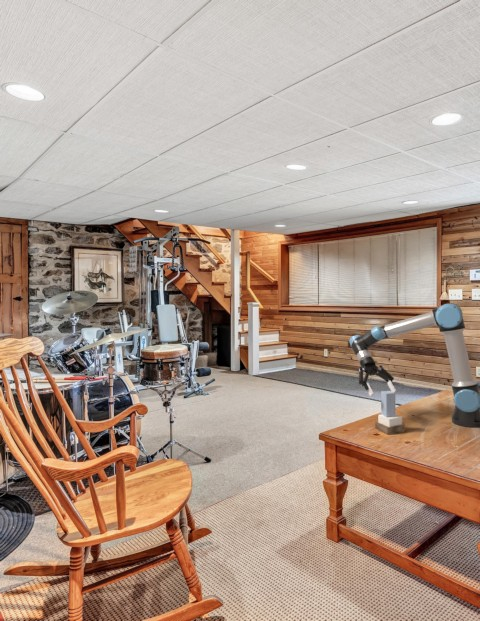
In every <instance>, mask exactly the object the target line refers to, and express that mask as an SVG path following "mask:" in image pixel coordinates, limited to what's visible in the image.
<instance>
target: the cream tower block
mask: <svg viewBox="0 0 480 621" xmlns="http://www.w3.org/2000/svg"><path fill="white" fill-rule="evenodd" d="M377 418H378V420H377V421H378V423H381V424H383V425H385V426H388V427H393V426H398V425H402V424H403V416H400V415H398V414H396V417H385V416H383V415H381V414H378V416H377Z"/></svg>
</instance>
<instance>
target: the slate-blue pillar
mask: <svg viewBox="0 0 480 621" xmlns="http://www.w3.org/2000/svg"><path fill="white" fill-rule="evenodd" d="M380 399H381V400H380V407H381V408H380V412H381V413H380V415H383V416H385V417H396V415H397V413H396V410H397V409H396V392H395V393H394V392H392V391H391V390H386V391H385V390H382V391H380Z"/></svg>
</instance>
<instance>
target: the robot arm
mask: <svg viewBox="0 0 480 621" xmlns="http://www.w3.org/2000/svg"><path fill="white" fill-rule="evenodd" d="M434 326H436V327H438V330H439V333H441V335H443V337H444V341H445V346H446V350H447V354H448V355H447V356H448V361H449V364H450V368H451V373H452V378H453V382H452V383H451V388H452V393H453V404H454V405H455V407H454V410H453V412H452V415H451V423H453V424H454V425H456V426H462V427H466V428H480V381H479V380H475V379H474V377H473V373H472V368H471V364H470V359H469V354H468V350H467V346H466V341H465V337H464V333H463V332H464V331H465V329H466V324H465V320H464V316H463V310H462V308H461V307H460V306H459V305H458V304H455V303H451V302H448V303H447V302H446V303H445V304H442V305H441V306H439V307H436V308H433V309H431V310H430V312H427V313H422V314H418V315H416V316H413V317H409V318H406V319H402V320H398V321H395V322H390V323H388V324H385V325H381V326H379V325H377V326H374V327H372V328H371V329H370V330H369V331H367V332H366V333H364V334H363V335H360V334H355V335H353V336H352V337H350V338H349V341H348V342H349V344H350V347H351V349H352V351H353V353H354V355H355V356H356V359H357V360H358V363H359V365H360V367H359V368H358V370H357V371H358V385H361V386H362V387H363V388H364V389H365V391H367V393H368V395H369V396H370V397H372V396H373V395H374V391H373V389H372V388H371V386H370V383H369V382H368V379H369V377H370V376H376V377H379V378H381V379H382V380H383V381H385V382H387V387H388V388H389V389H390V390H389V391H392V392H394V393H395V394H396V392H397V389H396V387H395V384H394V382H393V381H394V380H395V377H394V376H393V375H391V374H390V373H389V372H388V371H387V370H386V369H385V368H384V367H383V365H381V364H380V365H378V366H377V364H376V362H375V360H374V358H373V355H372V354H371V352H370V351H369V348H371V347H372V346H373V345H375V344H377V343H378V342H380V341H382V340H386V339H391V338H394V337H396V336H400V335H404V334H407V333H412V332H415V331H418V330H419V331H420V330H423V329H427V328H430V327H434ZM364 373H365V375H364Z"/></svg>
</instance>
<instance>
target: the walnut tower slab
mask: <svg viewBox="0 0 480 621" xmlns="http://www.w3.org/2000/svg"><path fill="white" fill-rule="evenodd" d="M374 424H375V425H374V429H376V430H377V431H379V432H381V433H383V434H386V435H395V434H400V433H401V434H402V433H405V425H404V424H403V423H402V425H398V426H393V427H388V426H385V425H383V424H381V423H378V420H377V421H375V422H374Z"/></svg>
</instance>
